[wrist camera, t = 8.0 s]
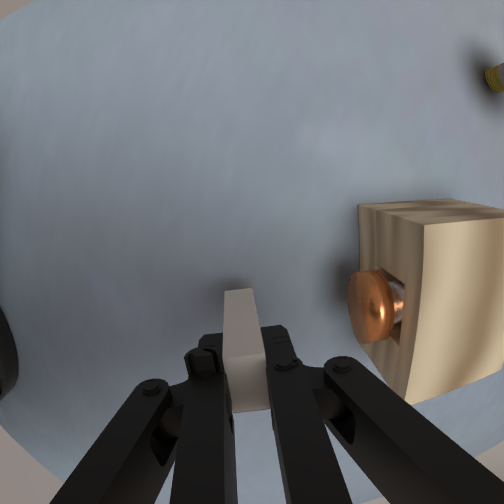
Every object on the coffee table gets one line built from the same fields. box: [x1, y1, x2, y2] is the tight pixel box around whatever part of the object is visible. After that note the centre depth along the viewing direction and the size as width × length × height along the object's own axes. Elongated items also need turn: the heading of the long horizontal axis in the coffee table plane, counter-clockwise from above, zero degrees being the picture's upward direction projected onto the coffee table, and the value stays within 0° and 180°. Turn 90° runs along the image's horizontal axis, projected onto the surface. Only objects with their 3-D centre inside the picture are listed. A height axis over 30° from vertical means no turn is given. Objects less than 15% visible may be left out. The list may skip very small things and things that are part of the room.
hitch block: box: [358, 199, 504, 405], centre depth 17 cm, size 8×10×8 cm
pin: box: [348, 269, 405, 344], centre depth 17 cm, size 13×4×4 cm, turn 96°
